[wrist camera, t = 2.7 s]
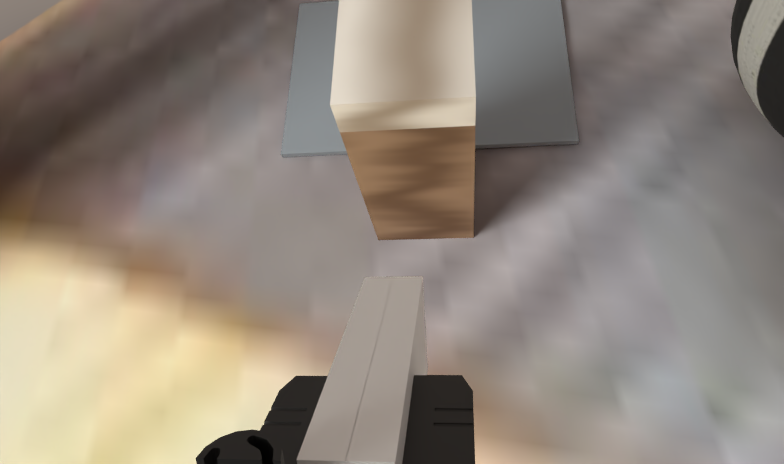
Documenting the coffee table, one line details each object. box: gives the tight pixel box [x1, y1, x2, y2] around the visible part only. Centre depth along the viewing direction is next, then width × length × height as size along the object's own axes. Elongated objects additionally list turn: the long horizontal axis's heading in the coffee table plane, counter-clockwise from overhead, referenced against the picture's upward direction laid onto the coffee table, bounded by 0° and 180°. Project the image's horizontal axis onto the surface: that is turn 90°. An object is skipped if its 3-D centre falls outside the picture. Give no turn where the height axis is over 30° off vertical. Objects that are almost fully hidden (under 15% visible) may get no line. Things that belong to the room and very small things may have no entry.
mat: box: [281, 0, 579, 157], centre depth 41 cm, size 20×14×1 cm
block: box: [330, 0, 476, 240], centre depth 31 cm, size 6×6×14 cm
